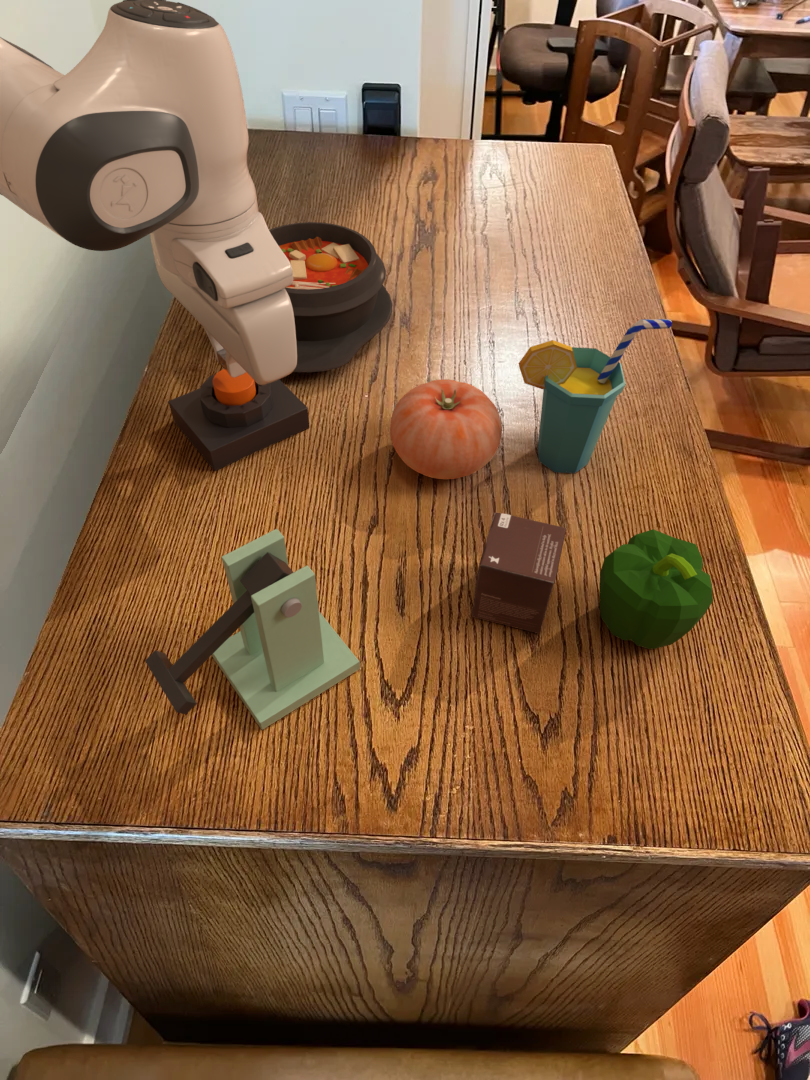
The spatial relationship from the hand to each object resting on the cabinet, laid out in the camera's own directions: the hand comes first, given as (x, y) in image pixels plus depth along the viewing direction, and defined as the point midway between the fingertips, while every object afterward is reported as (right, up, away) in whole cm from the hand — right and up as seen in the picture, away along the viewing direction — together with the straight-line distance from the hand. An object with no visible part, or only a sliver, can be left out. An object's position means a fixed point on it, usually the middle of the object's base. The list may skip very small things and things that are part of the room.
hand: (232, 368), depth 74 cm
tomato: (+21, -9, +3) cm, 22 cm away
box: (+26, -22, -8) cm, 35 cm away
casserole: (+6, +10, +18) cm, 21 cm away
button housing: (0, -5, +6) cm, 7 cm away
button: (0, -2, +2) cm, 3 cm away
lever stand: (+7, -26, -12) cm, 30 cm away
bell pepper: (+36, -24, -9) cm, 44 cm away
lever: (+5, -23, -20) cm, 31 cm away
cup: (+34, -8, +4) cm, 35 cm away
